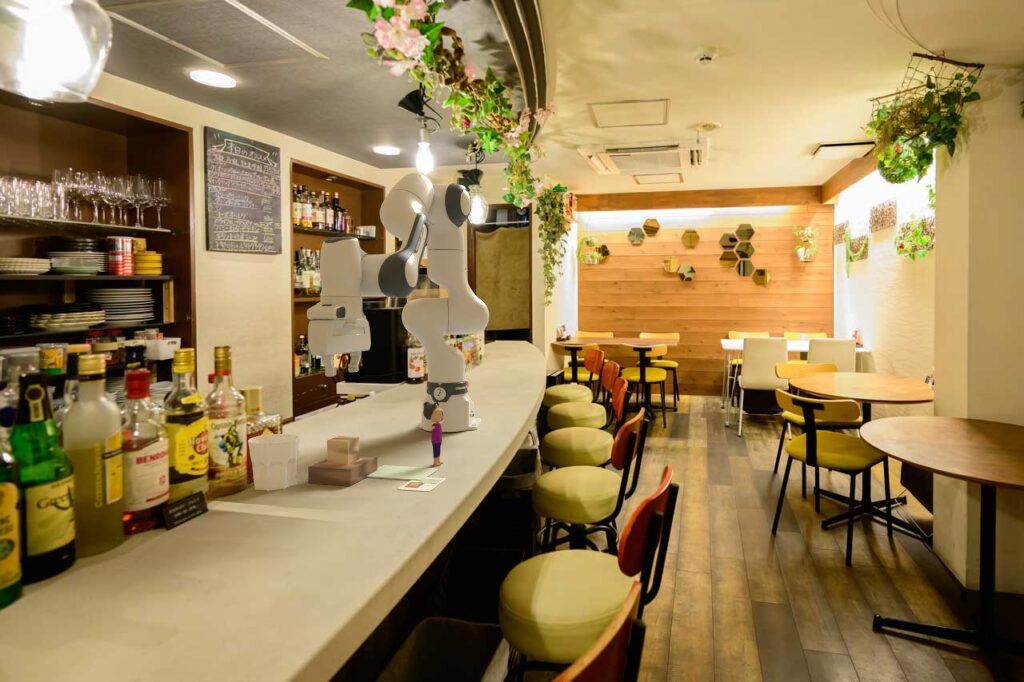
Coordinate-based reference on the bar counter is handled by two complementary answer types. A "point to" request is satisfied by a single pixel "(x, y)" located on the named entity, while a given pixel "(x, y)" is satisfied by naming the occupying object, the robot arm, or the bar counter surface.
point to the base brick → (342, 471)
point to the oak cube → (343, 450)
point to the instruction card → (422, 484)
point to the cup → (274, 460)
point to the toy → (435, 428)
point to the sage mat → (402, 472)
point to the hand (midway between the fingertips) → (342, 374)
